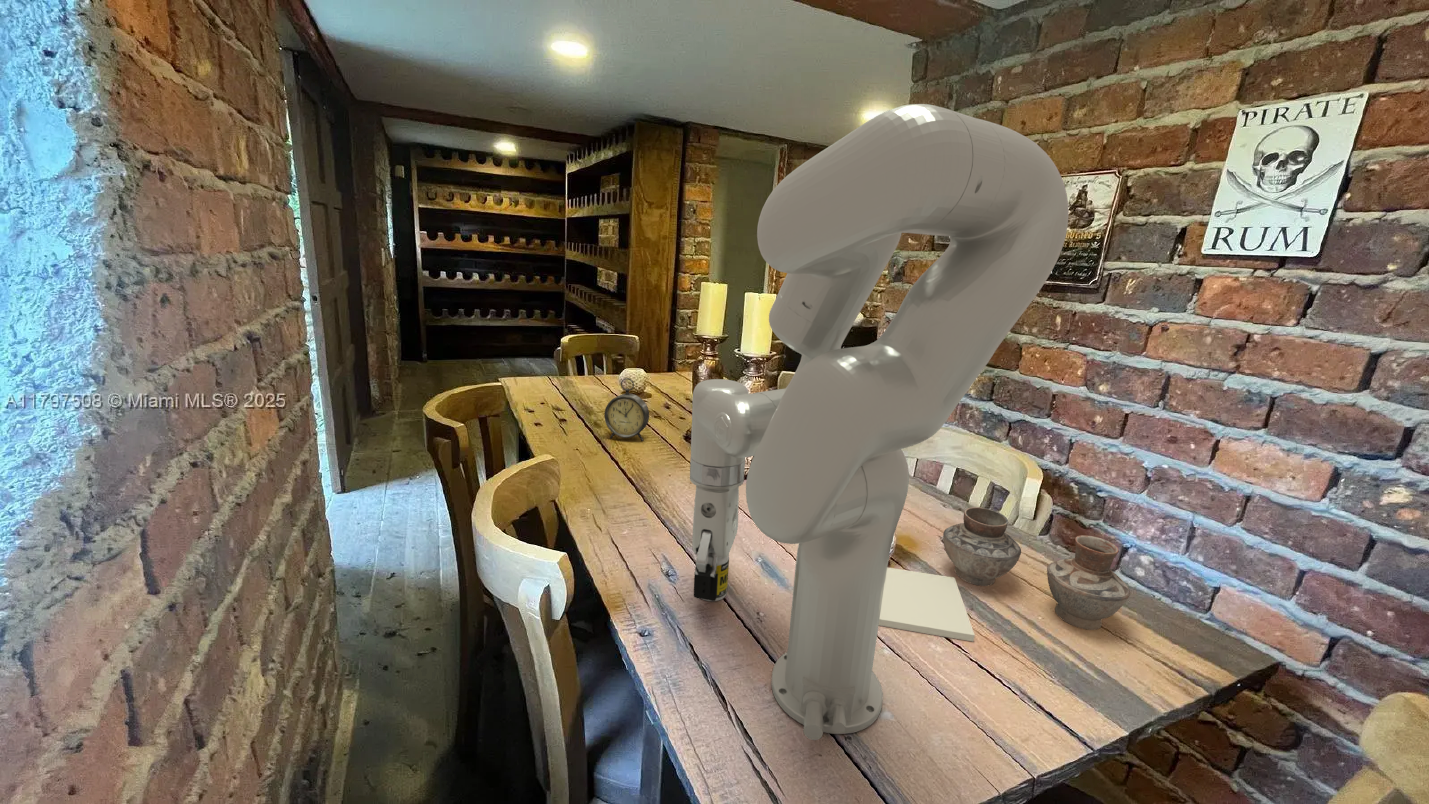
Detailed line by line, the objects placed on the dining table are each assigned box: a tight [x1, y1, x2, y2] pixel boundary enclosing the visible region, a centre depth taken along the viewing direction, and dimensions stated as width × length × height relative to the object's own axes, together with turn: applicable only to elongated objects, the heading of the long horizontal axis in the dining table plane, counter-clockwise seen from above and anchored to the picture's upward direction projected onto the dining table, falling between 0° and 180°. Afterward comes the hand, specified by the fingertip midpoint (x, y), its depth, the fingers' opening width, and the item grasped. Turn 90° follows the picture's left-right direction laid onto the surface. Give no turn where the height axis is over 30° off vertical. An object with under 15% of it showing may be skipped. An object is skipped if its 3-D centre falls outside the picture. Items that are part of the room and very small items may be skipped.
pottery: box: [942, 506, 1131, 631], centre depth 84 cm, size 11×25×12 cm, turn 47°
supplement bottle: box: [702, 548, 730, 602], centre depth 81 cm, size 5×5×8 cm
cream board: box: [878, 566, 976, 643], centre depth 82 cm, size 14×14×1 cm
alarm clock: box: [604, 377, 650, 442], centre depth 144 cm, size 11×5×16 cm, turn 81°
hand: (711, 581), depth 82 cm, fingers open, 7 cm apart
